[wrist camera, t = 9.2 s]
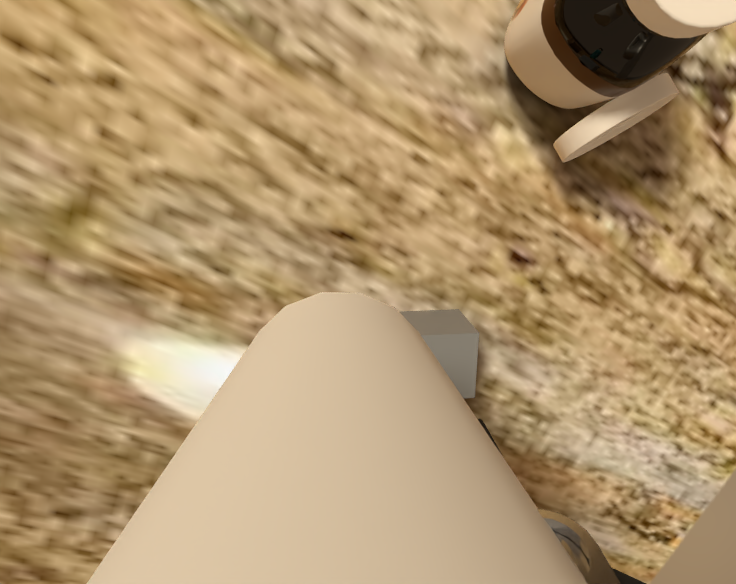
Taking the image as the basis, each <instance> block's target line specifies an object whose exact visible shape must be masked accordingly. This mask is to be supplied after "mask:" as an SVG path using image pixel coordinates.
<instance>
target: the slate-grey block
mask: <svg viewBox="0 0 736 584" xmlns="http://www.w3.org/2000/svg"><path fill="white" fill-rule="evenodd" d="M400 313H401V314H402V315H403V316H404V317H405V318H406V320H407V321H408V322H409V323H410V324H411V325H412V326H413V327H414V328H415V329H416V330H417V331H418V332H419V333H420V335H421V336H422V338H423V339H424V341H425V342H426V344H427V345H428V347H429V348H430V350H431V351H432V353H433V354H434V356H435V357H436V359H437V360H438V362H439V363H440V365H441V366H442V368H443V369H444V371H445V372H446V373H447V375H448V376H449V378H450V379H451V381H452V382H453V384H454V385H455V387H456V388H457V390H458V391H459V393H460V394H461V396H462V397H463V398H475V388H476V372H477V357H478V341H479V332H478V331H477V330H476V329H475V328H474V327H473V325H472V324H471V323H470V322H469V321H468V320H467V318H466V317H465V316H464V315H463V314H462V313H461V311H460V310H459V309H455V310H430V311H406V312H400Z"/></svg>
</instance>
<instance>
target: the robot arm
mask: <svg viewBox="0 0 736 584" xmlns="http://www.w3.org/2000/svg"><path fill="white" fill-rule="evenodd" d="M478 421H479V422H480V424H481V425H482V427H483V428H484V430H485V431H486V433H487V434H488V436H489V437H490V439H491V440H492V442H493V443H494V445H495V446H496V448H497V449H498V447H497V445H496V443H495V442H494V440H493V438H492V436H491V435H490V433H489V431H488V429H487V428H486V426H485V424H484V423H483V421H482V420H481V419H478ZM498 450H499V449H498ZM499 452H500V451H499ZM500 453H501V452H500ZM501 455H502V454H501ZM537 510H538V512H539V513H540V515H541V516H542V518H543V519H544V520H545V521H546V522H547V523H548V525H549V526H550V527H551V529H552V530H553V532H554V533H555V535H556V536H557V538H558V539H559V541H560V542H561V544H562V546H563V547H564V549H565V550H566V551H567V553H568V554H569V556H570V557H571V559H572V560H573V562H574V563H575V564H576V566H577V567H578V569H579V570H580V572H581V573H582V575H583V576H584V578H585V581H586V582H587V584H646V583H643V582H641V581H639V580H637V579H635V578H633V577H630V576H628V575H626V574H624V573H622V572H619V571H617V570H615V569H613V568H611V566H610V565H609V563H608V561H607V560H606V558H605V556H604V555H603V553H602V551H601V550H600V548H599V546H598V544H597V543H596V542H595V541H594V539H593V538H592V537H591V535H590V534H589V533H588V532H587V530H585V529H584V528H583V527H581V526H580V525H579V524H578V523H576V522H575V521H574V520H572V519H570V518H568V517H566V516H564V515H561V514H559V513H556V512H552V511H548V510H543V509H537Z"/></svg>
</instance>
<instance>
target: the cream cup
mask: <svg viewBox="0 0 736 584" xmlns="http://www.w3.org/2000/svg"><path fill="white" fill-rule="evenodd" d="M537 509H538V508H537V507H536V505H535V504H534V502H533V501H532V499H531V498H530V496H529V495H528V493H527V492H526V490H525V489H524V487H523V486H522V485H521V483H520V482H519V480H518V479H517V477H516V476H515V474H514V473H513V471H512V470H511V468H510V467H509V465H508V464H507V462H506V461H505V459H504V458H503V456H502V455H501V453H500V452H499V450H498V449H497V448H496V446H495V445H494V443H493V442H492V440H491V439H490V437H489V436H488V434H487V433H486V431H485V430H484V428H483V427H482V425H481V424H480V422H479V421H478V419H477V418H476V416H475V415H474V413H473V412H472V410H471V409H470V408H469V406H468V405H467V403H466V402H465V400H464V399H463V397H462V396H461V394H460V393H459V391H458V390H457V388H456V387H455V385H454V384H453V382H452V381H451V379H450V378H449V376H448V375H447V373H446V372H445V371H444V369H443V368H442V366H441V365H440V363H439V362H438V360H437V359H436V357H435V356H434V354H433V353H432V351H431V350H430V348H429V347H428V345H427V344H426V342H425V341H424V339H423V338H422V336H421V335H420V333H419V332H418V331H417V330H416V329H415V328H414V327H413V326H412V325H411V324H410V323H409V322H408V321H407V320H406V318H405V317H404V316H403V315H402V314H401V313H400V312H399V311H398V310H397V309H396V308H395V307H393V306H390V305H388V304H386V303H383V302H381V301H378V300H376V299H374V298H371V297H369V296H367V295H364V294H362V293H337V292H321V293H318V294H316V295H313V296H310V297H308V298H305V299H303V300H300V301H297V302H295V303H292V304H290V305H287V306H285V307H284V308H283V309H282V310H281V311H280V312H279V313H278V314H277V315H276V316H275V317H273V318H272V319H271V320H270V321H269V322H268V323H267V324H266V325H265V326H264V327H263V328H262V329H261V330H260V331H259V332H258V334H257V335H256V337H255V338H254V340H253V341H252V343H251V344H250V346H249V347H248V348H247V350H246V351H245V353H244V354H243V356H242V357H241V359H240V360H239V362H238V363H237V365H236V366H235V368H234V369H233V370H232V372H231V373H230V375H229V376H228V378H227V379H226V381H225V382H224V384H223V385H222V387H221V388H220V389H219V391H218V392H217V394H216V395H215V397H214V398H213V400H212V401H211V403H210V404H209V406H208V407H207V408H206V410H205V411H204V413H203V414H202V416H201V417H200V419H199V420H198V422H197V423H196V425H195V426H194V427H193V429H192V430H191V432H190V433H189V435H188V436H187V438H186V439H185V441H184V442H183V444H182V445H181V447H180V448H179V449H178V451H177V452H176V454H175V455H174V457H173V458H172V460H171V461H170V463H169V464H168V466H167V467H166V468H165V470H164V471H163V473H162V474H161V476H160V477H159V479H158V480H157V482H156V483H155V485H154V486H153V487H152V489H151V490H150V492H149V493H148V495H147V496H146V498H145V499H144V501H143V502H142V504H141V505H140V506H139V508H138V509H137V511H136V512H135V514H134V515H133V517H132V518H131V520H130V521H129V523H128V524H127V525H126V527H125V528H124V530H123V531H122V533H121V534H120V536H119V537H118V539H117V540H116V542H115V543H114V545H113V546H112V547H111V549H110V550H109V552H108V553H107V555H106V556H105V558H104V559H103V561H102V562H101V564H100V565H99V566H98V568H97V569H96V571H95V572H94V574H93V575H92V577H91V578H90V580H89V581H88V583H87V584H587V582H586V581H585V578H584V576H583V575H582V573H581V572H580V570H579V569H578V567H577V566H576V564H575V563H574V562H573V560H572V559H571V557H570V556H569V554H568V553H567V551H566V550H565V549H564V547H563V546H562V544H561V542H560V541H559V539H558V538H557V536H556V535H555V533H554V532H553V530H552V529H551V527H550V526H549V525H548V523H547V522H546V521H545V520H544V519H543V518H542V516H541V515H540V513H539V512H538V510H537Z"/></svg>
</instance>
